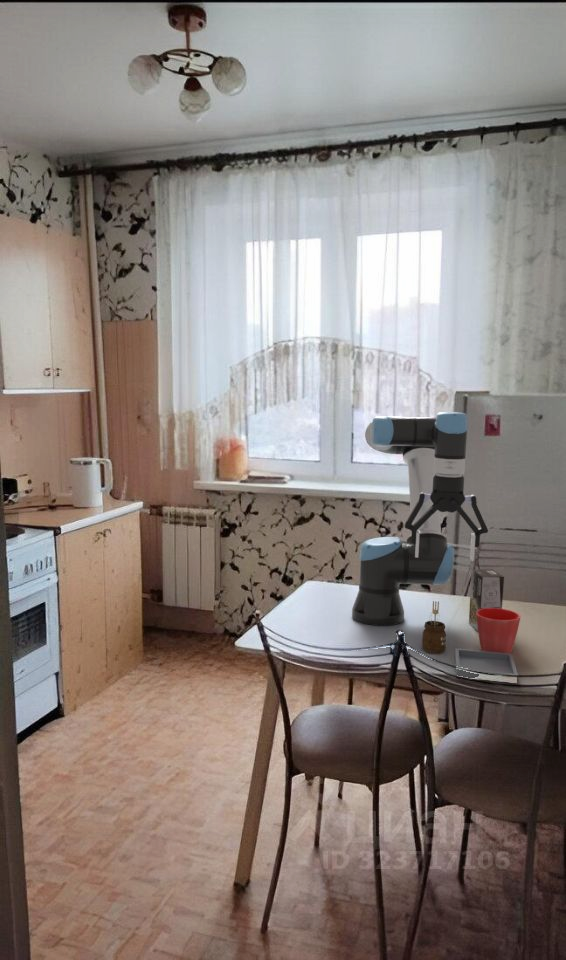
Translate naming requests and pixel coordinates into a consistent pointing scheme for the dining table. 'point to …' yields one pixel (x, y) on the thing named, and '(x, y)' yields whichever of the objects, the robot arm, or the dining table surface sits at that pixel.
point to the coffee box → (485, 592)
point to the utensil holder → (434, 635)
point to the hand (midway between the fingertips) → (444, 558)
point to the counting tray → (484, 662)
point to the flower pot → (497, 629)
